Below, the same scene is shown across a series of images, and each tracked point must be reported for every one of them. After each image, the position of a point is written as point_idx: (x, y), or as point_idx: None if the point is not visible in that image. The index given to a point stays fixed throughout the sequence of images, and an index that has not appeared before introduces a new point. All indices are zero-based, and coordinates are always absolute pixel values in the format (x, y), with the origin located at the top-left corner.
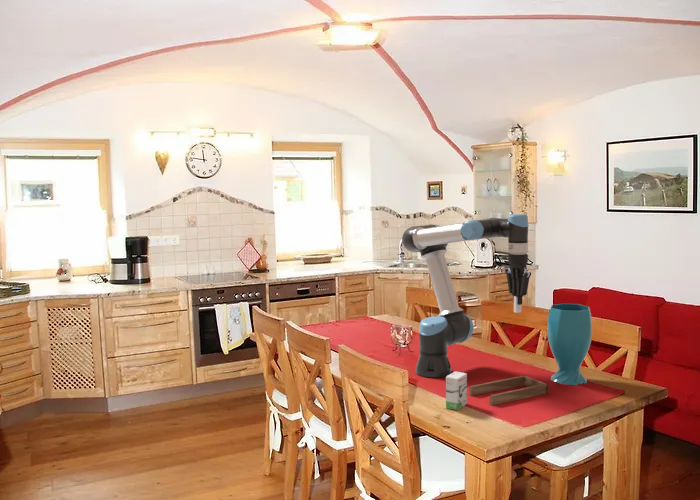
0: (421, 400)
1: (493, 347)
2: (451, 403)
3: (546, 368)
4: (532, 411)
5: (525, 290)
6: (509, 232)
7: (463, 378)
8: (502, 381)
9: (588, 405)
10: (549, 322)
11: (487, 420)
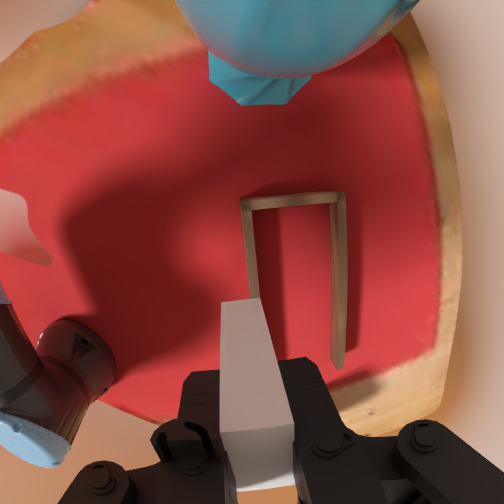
0: None
1: None
2: None
3: (142, 55)
4: (402, 300)
5: (477, 489)
6: None
7: None
8: (259, 292)
9: (431, 168)
10: (267, 34)
11: (384, 387)
